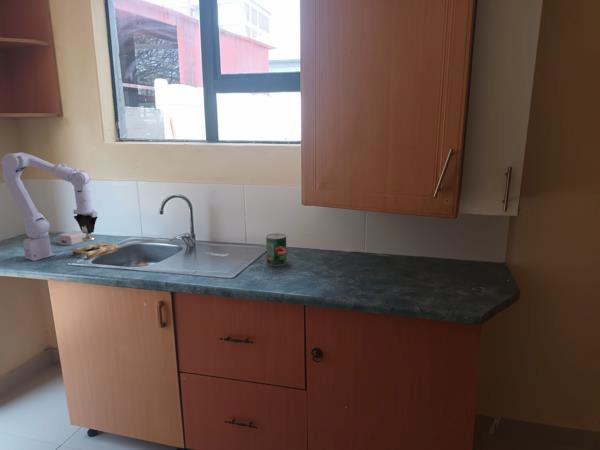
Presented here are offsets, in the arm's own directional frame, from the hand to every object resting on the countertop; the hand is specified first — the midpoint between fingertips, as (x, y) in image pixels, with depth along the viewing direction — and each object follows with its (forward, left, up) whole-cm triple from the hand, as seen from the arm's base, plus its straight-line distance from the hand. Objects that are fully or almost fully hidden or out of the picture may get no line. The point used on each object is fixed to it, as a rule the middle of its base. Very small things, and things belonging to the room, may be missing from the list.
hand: (87, 231), depth 188 cm
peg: (0, 0, -3) cm, 3 cm away
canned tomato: (+31, -77, -10) cm, 83 cm away
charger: (+10, +27, -10) cm, 30 cm away
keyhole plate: (+2, 0, -10) cm, 10 cm away
